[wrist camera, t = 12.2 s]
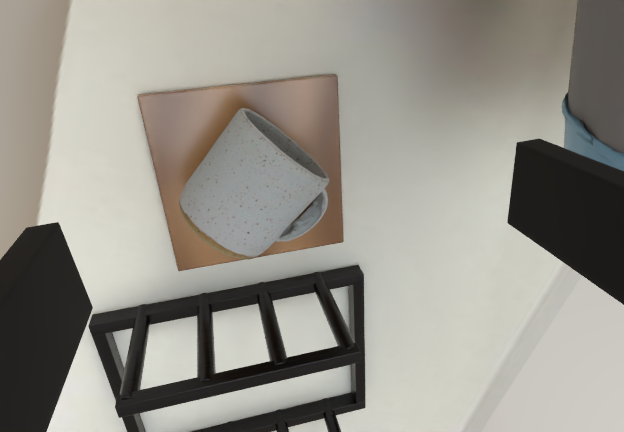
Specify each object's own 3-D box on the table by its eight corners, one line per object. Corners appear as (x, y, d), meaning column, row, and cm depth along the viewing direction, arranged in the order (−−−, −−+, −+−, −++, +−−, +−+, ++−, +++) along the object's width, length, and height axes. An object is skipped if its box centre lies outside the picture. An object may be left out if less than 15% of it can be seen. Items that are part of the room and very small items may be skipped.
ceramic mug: (172, 186, 32) (167, 234, 26) (236, 95, 31) (249, 121, 24) (283, 250, 37) (304, 305, 30) (344, 175, 35) (380, 215, 29)
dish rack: (358, 264, 40) (406, 340, 31) (360, 397, 48) (400, 491, 38) (91, 313, 36) (55, 419, 27) (141, 451, 43) (126, 571, 34)
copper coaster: (335, 74, 32) (337, 75, 32) (341, 239, 38) (343, 242, 38) (138, 94, 30) (137, 95, 29) (178, 267, 36) (178, 271, 35)
